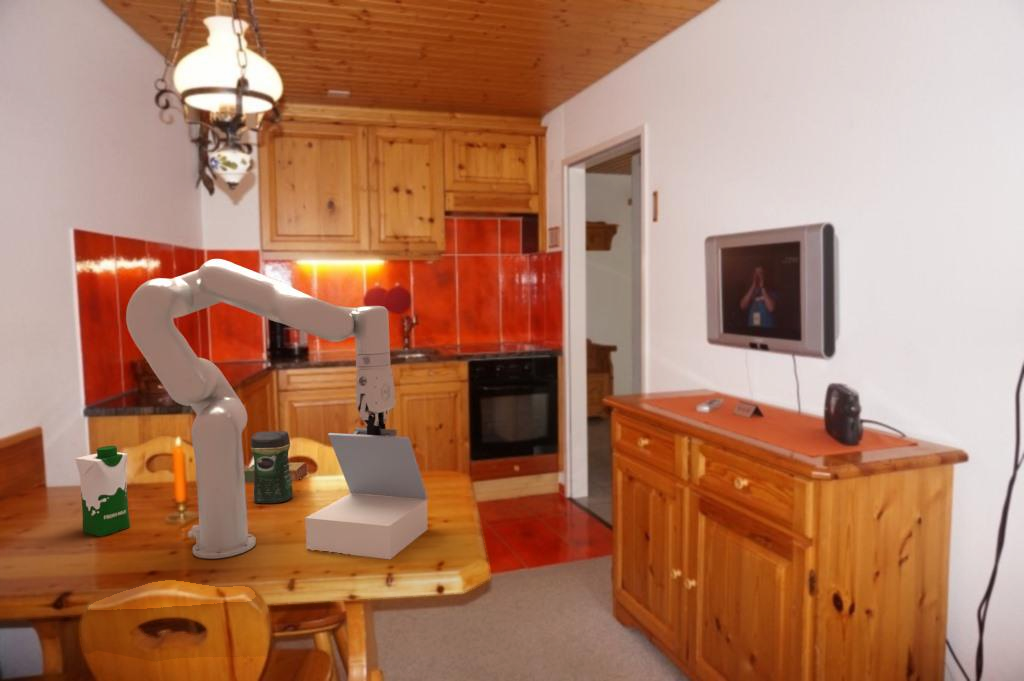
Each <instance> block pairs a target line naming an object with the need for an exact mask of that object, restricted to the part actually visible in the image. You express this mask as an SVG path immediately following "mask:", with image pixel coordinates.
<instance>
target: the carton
mask: <svg viewBox="0 0 1024 681" xmlns="http://www.w3.org/2000/svg"><path fill="white" fill-rule="evenodd" d="M307 468H308V466H307V462H306V461H303V462H295V461H294V462H289V470H290V477H291V482H292V483H294V482H293V481H298V480H299V479H300V478H302V479H303V478H304V477H306V476H307V475H308V469H307ZM244 474H245V484H246V483H254V464H252V465H251V466H249V467H248V468H246V469H244ZM299 481H300V480H299ZM299 481H298V482H299Z"/></svg>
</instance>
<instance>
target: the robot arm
mask: <svg viewBox="0 0 1024 681" xmlns="http://www.w3.org/2000/svg"><path fill="white" fill-rule="evenodd" d="M220 303H224V304H227V305H229V306H233V307H236V308H238V309H241V310H244V311H247V312H249V313H252V314H255V315H258V316H260V317H263V318H264V319H265V318H266V319H267V320H269V321H273V322H275V323H280V324H283V325H286V326H289V327H291V328H293V329H295V330H298V331H302V332H304V333H307V334H310V335H313V336H315V337H318V338H320V339H322V340H326V341H329V342H333V343H337V342H338V343H339V342H342V341H345V340H346V339H348V338H353V337H354V340H355V341H354V343H355V344H354V345H355V362H356V363H355V365H356V367H355V368H356V369H357V370H356V378H355V402H356V404H355V405H356V410H357V412H358V413H359V417H358V418H359V419H360V420H363V421H364V424H365V426H366V428H367V434H366V435H377V436H387V435H381V429H387V428H386V427H387V426H386V423H387V415H388V413H389V412H390V410H391V409H394V407H395V405H396V393H395V392H396V390H395V382H394V376H393V369H392V366H391V349H390V347H391V346H390V326H389V325H390V324H389V323H390V322H389V310H388V308H386V307H385V306H381V305H368V306H367V305H366V306H364V305H363V306H359V307H348V306H340V305H334V304H333V303H331V302H326V301H325V300H321V299H318V298H316V297H314V296H312V295H308V294H306V293H303V292H302V291H299V290H297V289H295V288H293V287H292V286H291V285H289V284H287V283H285V282H283V281H281V280H278V279H275V278H273V277H270V276H267V275H264V274H262V273H259V272H257V271H254V270H251V269H248V268H246V267H243V266H242V265H238V264H235V263H233V262H232V261H228V260H226V259H221V258H214V259H213V258H212V259H209V260H208V261H205V262H204V263H203V264H201V266H200V267H199V269H197V270H196V269H195V270H194V271H190V272H187V273H185V274H182V275H179V276H176V277H173V278H165V277H164V278H161V277H157V278H153V279H149V280H147V281H145V282H144V283H142V284H140V286H139V287H137V289H136V290H135V291H134V292H133V294H132V296H131V298H130V299H129V301H128V304H127V307H126V314H125V316H126V317H125V321H126V326H127V330H128V333H129V334H130V336H131V339H132V340H133V342H134V345H135V346H136V347H137V348H138V350H139V351H140V353H141V354H142V355H143V357H144V358H145V359H146V362H147V363H148V364H149V366H150V368H151V369H152V371H153V373H154V374H155V375H156V376H157V378H158V380H159V381H160V382H161V384H162V386H163V387H164V389H165V390H166V392H167V394H168V395H169V397H170V398H171V399H172V400H173V401H174V402H175V403H177V404H180V406H181V405H182V406H186V407H189V406H190V407H191V409H192V410H193V412H194V413H195V414H196V416H195V418H194V420H193V422H192V426H191V443H192V448H193V452H194V461H195V462H194V463H195V475H196V476H195V477H196V488H197V506H198V507H197V509H198V522H199V523H198V524H194V525H192V526H191V529H190V530H189V531H188V532H187V537H188V538H196V539H195V540H196V543H195V544H194V545H192V554H193V555H194V556H195V557H197V558H200V559H207V560H215V559H224V558H230V557H234V556H238V555H240V554H243V553H246V552H248V551H249V550H251V549H252V548H254V546H255V545H256V544H257V543H256V536H254V535H253V534H251V533H249V531H248V516H247V515H248V514H247V513H248V512H247V495H246V494H247V492H246V483H245V474H244V471H245V463H244V461H245V460H244V451H243V443H242V442H243V441H242V434H243V431H244V430H245V428H246V427H247V423H248V412H247V410H246V408H245V405H244V404H243V403H242V401H241V399H240V398H239V396H238V395H237V393H236V392H235V390H234V389H233V387H232V385H231V384H230V383H229V381H228V380H227V378H226V377H225V376H224V374H223V372H222V371H221V370H220V368H219V367H218V366H217V365H215V363H213V362H212V361H210V360H209V359H206V358H203V357H198V356H197V354H196V353H195V351H194V350H193V348H192V347H191V346H190V344H189V342H188V341H187V339H186V338H185V337H184V335H183V334H182V333H181V332H180V330H179V329H178V328H177V326H176V325H175V322H174V319H177V318H180V317H184V316H186V315H189V314H190V315H191V314H192V313H194V312H195V313H196V312H197V311H200V310H203V309H206V308H209V307H211V306H215V305H217V304H220Z"/></svg>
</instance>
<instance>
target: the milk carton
mask: <svg viewBox="0 0 1024 681" xmlns="http://www.w3.org/2000/svg"><path fill="white" fill-rule="evenodd" d="M127 460H128V453H124V452H118V447H117V446H116V445H107V446H101V447H98V448H97V449H96V453H92V454H90V455H89V454H88V455H84V456H83V455H82V456H79V457H75V462H76V466H77V469H78V470H77V471H78V473H79V474H78V475H79V477H80V478H79V481H80V493H81V494H80V497H81V508H82V534H85V533H87V534H86V535H90V534H91V536H94V535H96V537H99V536H100V538H103V537H106V536H109V535H112V534H115V533H118V532H120V531H119V530H121V531H123V529H124V530H126V528H127V529H130V528H131V522H130V512H129V500H128V486H127V485H128V484H127V471H126V470H127V462H128V461H127ZM129 527H130V528H129ZM117 531H118V532H117ZM114 532H115V533H114ZM111 533H112V534H111ZM108 534H109V535H108ZM105 535H106V536H105ZM102 536H103V537H102Z"/></svg>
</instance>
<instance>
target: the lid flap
mask: <svg viewBox="0 0 1024 681" xmlns="http://www.w3.org/2000/svg"><path fill="white" fill-rule="evenodd" d="M381 435H386V436H377V435H367V427H355V429H354V432H353V433H340V432H339V433H337V432H336V433H335V432H334V433H333V432H329V433H328V434H327V436H328V439H329V441H330V443H331V446H332V449H333V451H334V454H335V456H336V459H337V462H338V464H339V466H340V469H341V472H342V475H343V477H344V480H345V482H346V485H347V487H348V490H349V494H350V493H353V494H365V495H377V496H389V497H401V498H413V499H425V500H428V495H427V494H428V493H427V491H426V487H425V485H424V480H423V478H422V475H421V472H420V469H419V465H418V462H417V461H418V460H417V459H416V454H415V451H414V449H413V446H412V442H411V439H410V437H409V436H398V430H397V429H387V428H386V429H381Z"/></svg>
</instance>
